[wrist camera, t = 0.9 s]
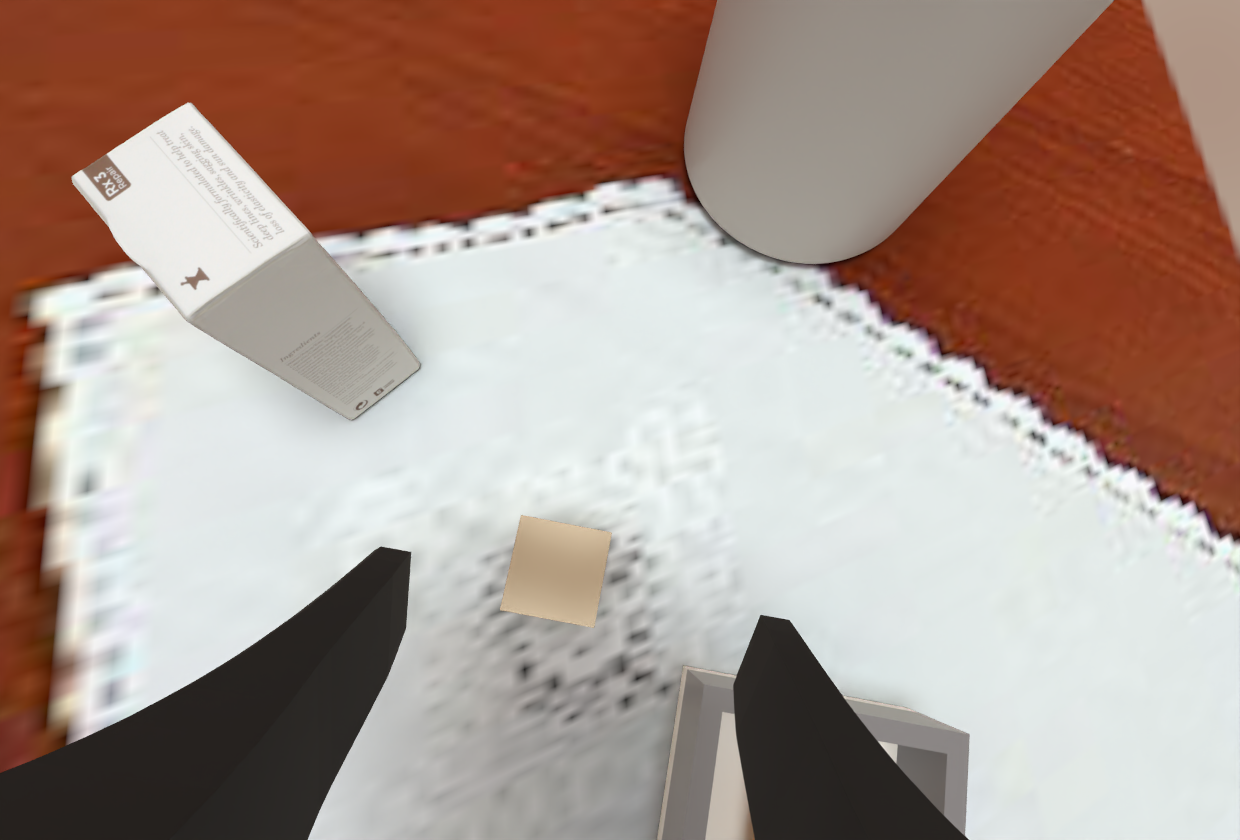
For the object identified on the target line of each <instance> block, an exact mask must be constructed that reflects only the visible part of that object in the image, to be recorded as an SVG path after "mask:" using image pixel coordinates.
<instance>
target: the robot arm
mask: <svg viewBox="0 0 1240 840" xmlns="http://www.w3.org/2000/svg"><path fill="white" fill-rule="evenodd" d="M410 562H411V552H408V551H402V550H397V549H391V548H385V547H379V548H378V549H376V550H374V551H373V552H372V553H371V554H370V555H369V556H367V557H366V558H365V559H364V560H363V561H362V562H360V563H359V564H358V565H357V566H356V567H355V568H353V569H352V570H351V571H350V572H349V573H347V574H346V575H345V576H344V577H343V578H341V579H340V580H339V581H338V582H337V583H335V584H334V585H333V586H332V587H330V588H329V589H328V590H327V591H325V592H324V593H323V594H322V595H320V596H319V597H318V598H316V599H315V600H314V601H313V602H311V603H310V604H309V605H307V606H306V607H305V608H304V609H302V610H301V611H300V612H298V613H297V614H296V615H294V616H293V617H292V618H290V619H289V620H288V621H286V622H285V623H283V624H282V625H280V626H279V627H278V628H276V629H275V630H273V631H272V632H270V633H269V634H268V635H266V636H265V637H263V638H262V639H261V640H259V641H258V642H256V643H255V644H253V645H252V646H250V647H249V648H247V649H246V650H244V651H243V652H241V653H240V654H238V655H237V656H235V657H234V658H232V659H230V660H229V661H227V662H226V663H224V664H222V665H221V666H219V667H218V668H216V669H214V670H213V671H211V672H209V673H208V674H206V675H204V676H203V677H201V678H199V679H198V680H196V681H194V682H192V683H191V684H189V685H187V686H185V687H183V688H182V689H180V690H178V691H176V692H174V693H172V694H171V695H169V696H167V697H165V698H163V699H161V700H160V701H158V702H156V703H154V704H152V705H150V706H148V707H146V708H144V709H143V710H141V711H139V712H137V713H135V714H133V715H131V716H129V717H127V718H125V719H123V720H121V721H119V722H117V723H115V724H113V725H110V726H108V727H106V728H104V729H102V730H100V731H98V732H96V733H93V734H91V735H89V736H87V737H85V738H83V739H80V740H78V741H76V742H74V743H71V744H69V745H67V746H65V747H62V748H60V749H58V750H56V751H53V752H51V753H49V754H46V755H44V756H42V757H39V758H37V759H35V760H32V761H30V762H27V763H25V764H22V765H20V766H17V767H15V768H12V769H10V770H7V771H4V772H2V773H0V840H308V837H309V835H310V832H311V830H312V827H313V825H314V823H315V820H316V818H317V815H318V813H319V811H320V808H321V806H322V804H323V802H324V800H325V798H326V796H327V794H328V791H329V789H330V787H331V785H332V783H333V781H334V779H335V777H336V776H337V774H338V772H339V770H340V768H341V766H342V764H343V762H344V760H345V758H346V756H347V754H348V752H349V751H350V749H351V747H352V745H353V743H354V741H355V739H356V737H357V735H358V733H359V731H360V729H361V727H362V726H363V724H364V722H365V720H366V718H367V716H368V714H369V712H370V710H371V708H372V706H373V704H374V702H375V700H376V698H377V696H378V695H379V693H380V691H381V689H382V687H383V685H384V683H385V681H386V679H387V677H388V674H389V672H390V669H391V667H392V664H393V662H394V659H395V656H396V654H397V651H398V648H399V646H400V643H401V640H402V638H403V635H404V632H405V630H406V620H407V606H408V591H409V577H410ZM733 693H734V714H735V728H736V738H737V744H738V750H739V755H740V761H741V767H742V772H743V778H744V783H745V789H746V794H747V800H748V805H749V811H750V816H751V821H752V827H753V832H754V838H755V840H968V839H967V838H966V837H965V836H964V835H963V834H962V833H961V832H960V831H959V830H958V829H957V828H956V827H955V826H954V825H953V824H952V823H951V822H950V821H949V820H948V819H947V818H946V817H945V816H944V815H943V814H942V813H941V812H940V811H939V810H938V809H937V808H936V807H935V806H934V805H933V804H932V803H931V801H930V800H929V799H928V798H927V797H926V796H925V795H924V794H923V793H922V792H921V791H920V789H919V788H918V787H917V786H916V785H915V784H914V783H913V782H912V781H911V780H910V779H909V778H908V776H907V775H906V774H905V773H904V772H903V771H902V770H901V769H900V767H899V766H898V765H897V764H896V763H895V762H894V760H893V759H892V758H891V757H890V756H889V754H888V753H887V752H886V751H885V750H884V748H883V747H882V746H881V745H880V743H879V742H878V741H877V740H876V739H875V737H874V736H873V735H872V734H871V732H870V731H869V730H868V729H867V727H866V726H865V725H864V724H863V722H862V721H861V720H860V718H859V717H858V716H857V714H856V713H855V712H854V711H853V709H852V708H851V707H850V705H849V704H848V703H847V701H846V700H845V698H844V697H843V696H842V694H841V693H840V692H839V690H838V689H837V687H836V686H835V685H834V683H833V682H832V680H831V679H830V678H829V676H828V675H827V673H826V672H825V671H824V669H823V668H822V666H821V665H820V663H819V662H818V661H817V659H816V658H815V656H814V655H813V653H812V652H811V650H810V649H809V648H808V646H807V645H806V643H805V642H804V640H803V639H802V637H801V636H800V634H799V633H798V632H797V630H796V629H795V627H794V626H793V625H792V623H791V622H790V620H786V619H780V618H775V617H769V616H764V615H760V618H759V620H758V623H757V626H756V628H755V631H754V633H753V636H752V638H751V641H750V643H749V646H748V648H747V651H746V653H745V656H744V659H743V661H742V664H741V666H740V669H739V671H738V674H737V676H736V679H735V681H734V684H733Z"/></svg>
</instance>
